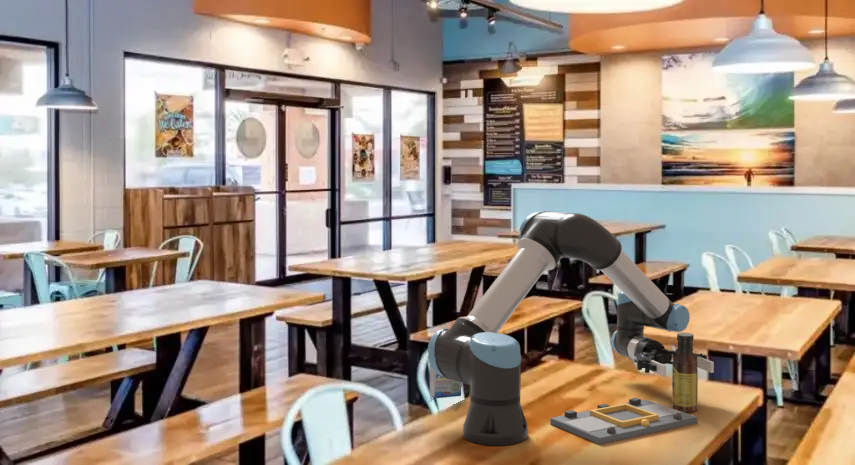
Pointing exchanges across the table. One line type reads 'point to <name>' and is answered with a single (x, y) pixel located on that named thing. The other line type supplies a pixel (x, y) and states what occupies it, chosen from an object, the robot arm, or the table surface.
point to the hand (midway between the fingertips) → (688, 369)
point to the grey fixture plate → (622, 420)
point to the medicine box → (443, 386)
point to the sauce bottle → (685, 375)
